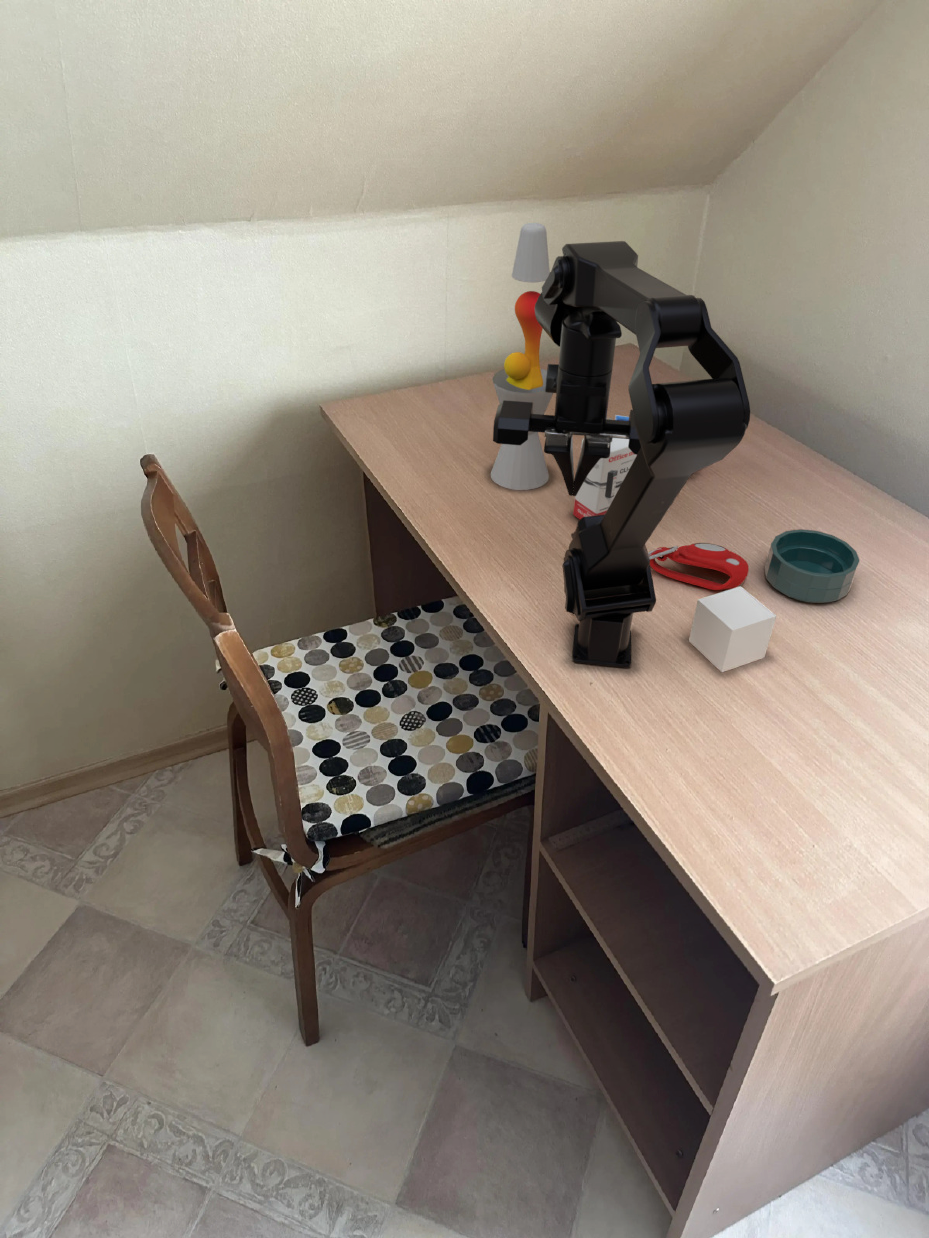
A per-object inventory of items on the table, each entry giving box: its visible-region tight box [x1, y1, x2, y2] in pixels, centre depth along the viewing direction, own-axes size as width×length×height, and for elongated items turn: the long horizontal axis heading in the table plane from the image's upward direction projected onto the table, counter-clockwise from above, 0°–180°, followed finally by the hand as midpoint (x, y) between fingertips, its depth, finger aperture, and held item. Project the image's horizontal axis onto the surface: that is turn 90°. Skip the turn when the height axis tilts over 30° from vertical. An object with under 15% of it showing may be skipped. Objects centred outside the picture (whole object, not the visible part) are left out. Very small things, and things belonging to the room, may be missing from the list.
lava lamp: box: [490, 222, 554, 491], centre depth 122 cm, size 9×9×35 cm
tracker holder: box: [647, 542, 749, 591], centre depth 112 cm, size 12×4×10 cm
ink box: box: [572, 438, 637, 520], centre depth 120 cm, size 8×5×12 cm, turn 123°
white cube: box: [688, 585, 777, 673], centre depth 100 cm, size 6×6×6 cm
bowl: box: [764, 528, 860, 604], centre depth 111 cm, size 10×10×4 cm
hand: (572, 494), depth 105 cm, fingers closed
